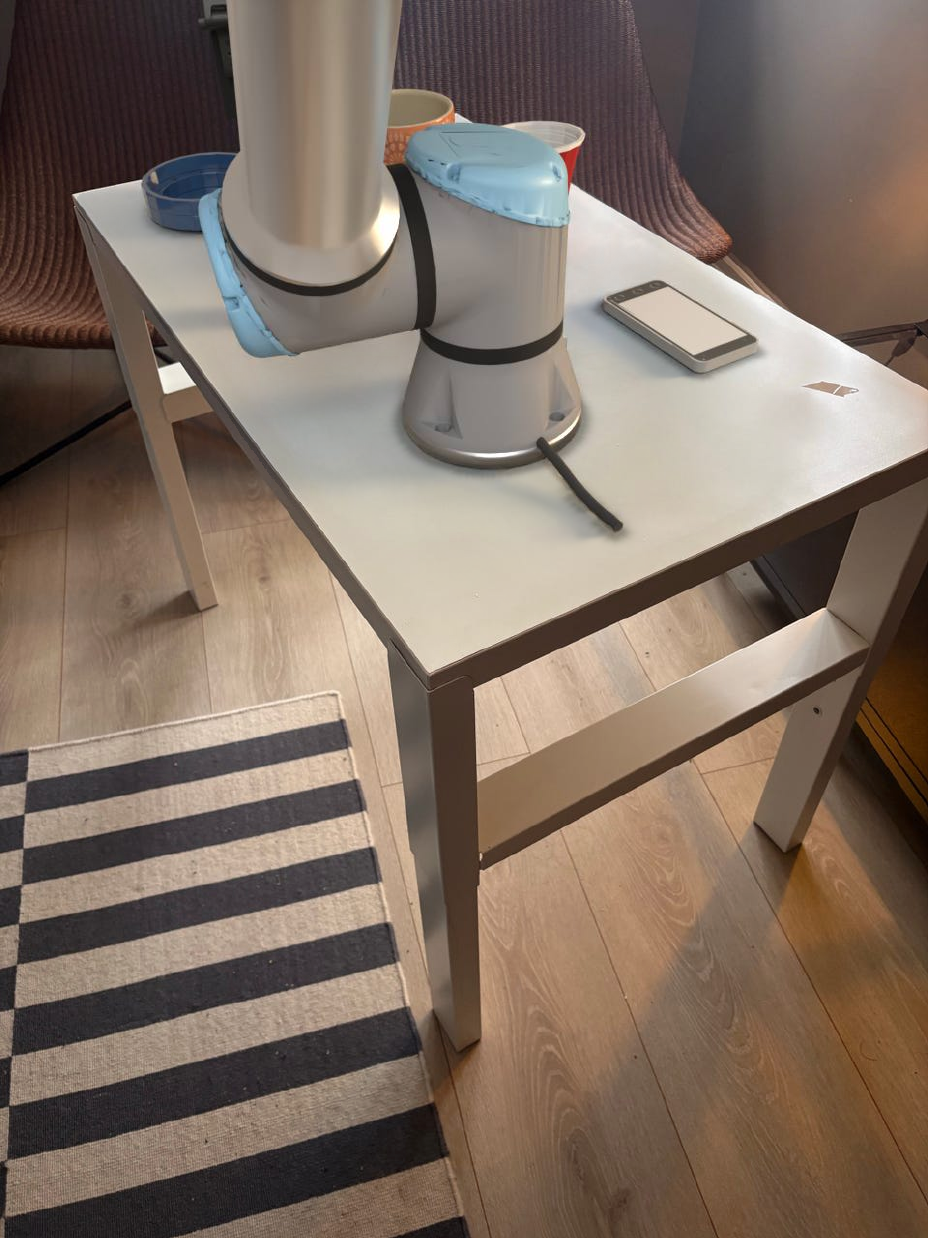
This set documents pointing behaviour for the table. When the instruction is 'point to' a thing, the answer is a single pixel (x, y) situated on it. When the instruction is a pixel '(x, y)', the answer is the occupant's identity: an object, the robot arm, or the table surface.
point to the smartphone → (680, 325)
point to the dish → (183, 187)
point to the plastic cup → (555, 139)
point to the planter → (413, 119)
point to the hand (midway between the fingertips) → (246, 87)
